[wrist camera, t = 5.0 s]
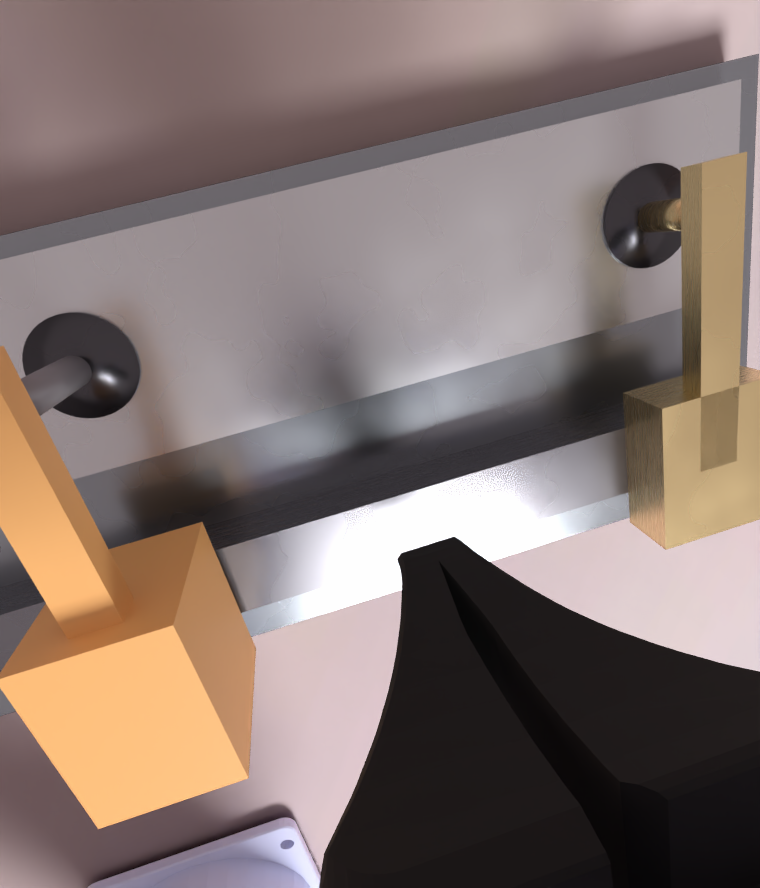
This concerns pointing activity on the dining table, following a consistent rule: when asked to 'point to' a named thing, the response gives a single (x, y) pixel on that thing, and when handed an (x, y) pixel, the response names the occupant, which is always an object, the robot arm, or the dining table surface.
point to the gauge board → (412, 347)
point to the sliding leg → (117, 631)
